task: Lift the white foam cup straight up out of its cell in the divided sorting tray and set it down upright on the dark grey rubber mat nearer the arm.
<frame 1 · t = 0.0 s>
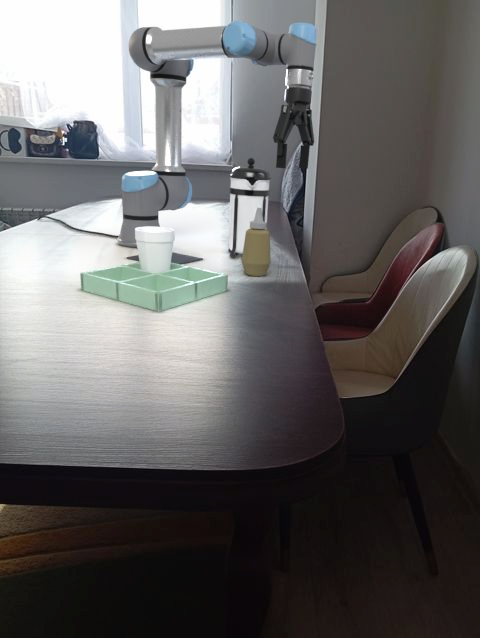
hand: (292, 168, 152), 28 cm above the table, tool pointing down, fingers open, 13 cm apart
coffee press: (244, 255, 169), on the table
mat: (165, 259, 155), on the table
divided sorting tray: (156, 290, 121), on the table
foam cup: (155, 282, 129), resting in divided sorting tray
squeeze bottle: (255, 274, 144), on the table
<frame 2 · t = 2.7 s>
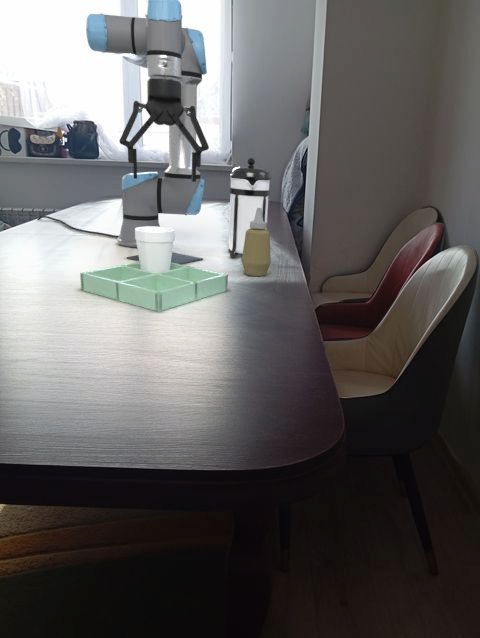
hand: (165, 180, 122), 24 cm above the table, tool pointing down, fingers open, 13 cm apart
nothing on the table moved.
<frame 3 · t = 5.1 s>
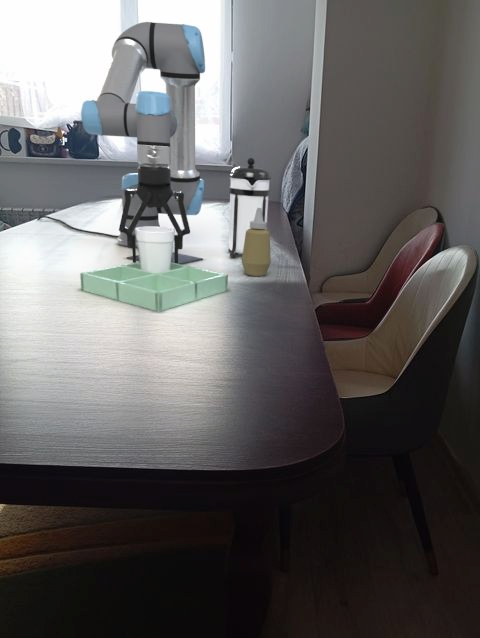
hand: (155, 261, 127), 5 cm above the table, tool pointing down, fingers closed on foam cup, 9 cm apart
foam cup: (155, 282, 129), resting in divided sorting tray, touching gripper
everything else where it was.
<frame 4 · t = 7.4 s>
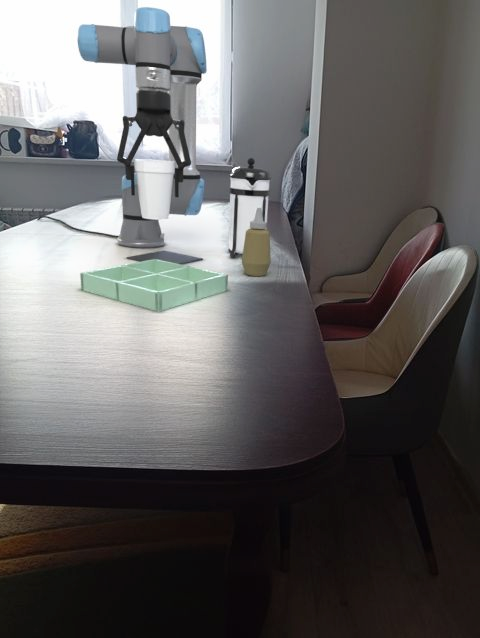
hand: (155, 195, 122), 21 cm above the table, tool pointing down, fingers closed on foam cup, 9 cm apart
foam cup: (155, 218, 124), point 15 cm above the table, touching gripper
everything else where it was.
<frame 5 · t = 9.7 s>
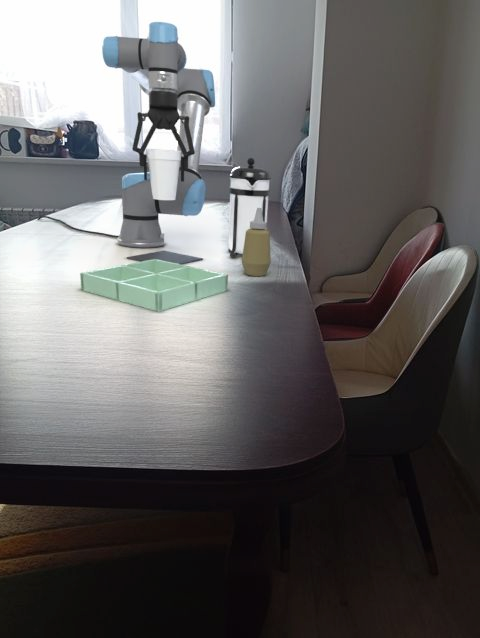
hand: (164, 180, 144), 23 cm above the table, tool pointing down, fingers closed on foam cup, 9 cm apart
foam cup: (164, 199, 146), point 18 cm above the table, touching gripper
everything else where it was.
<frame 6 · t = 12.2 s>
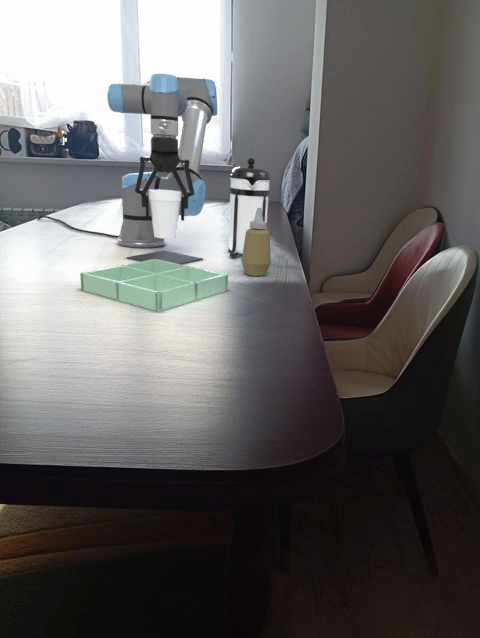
hand: (165, 219, 151), 12 cm above the table, tool pointing down, fingers closed on foam cup, 9 cm apart
foam cup: (165, 237, 152), point 7 cm above the table, touching gripper
everything else where it was.
when the fingers open (5 cm above the table, at t = 14.3 s): foam cup stays where it is, resting on mat.
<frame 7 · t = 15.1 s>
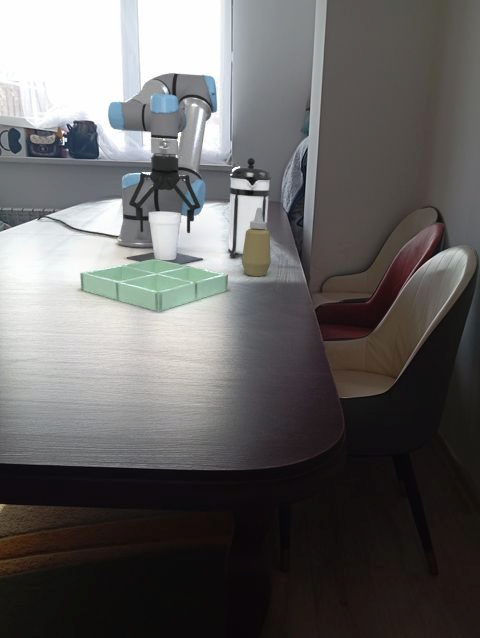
hand: (165, 231, 152), 8 cm above the table, tool pointing down, fingers open, 13 cm apart
foam cup: (165, 258, 155), resting on mat
everything else where it was.
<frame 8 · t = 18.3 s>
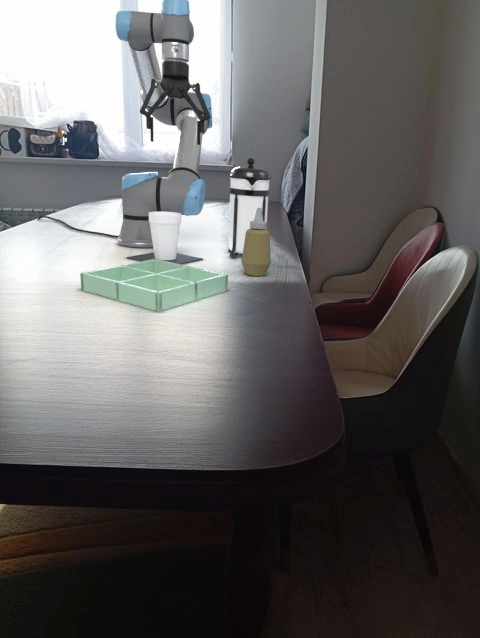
hand: (175, 143, 152), 33 cm above the table, tool pointing down, fingers open, 13 cm apart
nothing on the table moved.
at the end: foam cup inside the target area on the mat (0.1 cm from its centre), point 0.2 cm above the mat's base; foam cup tilted 0°; the gripper is holding nothing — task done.
